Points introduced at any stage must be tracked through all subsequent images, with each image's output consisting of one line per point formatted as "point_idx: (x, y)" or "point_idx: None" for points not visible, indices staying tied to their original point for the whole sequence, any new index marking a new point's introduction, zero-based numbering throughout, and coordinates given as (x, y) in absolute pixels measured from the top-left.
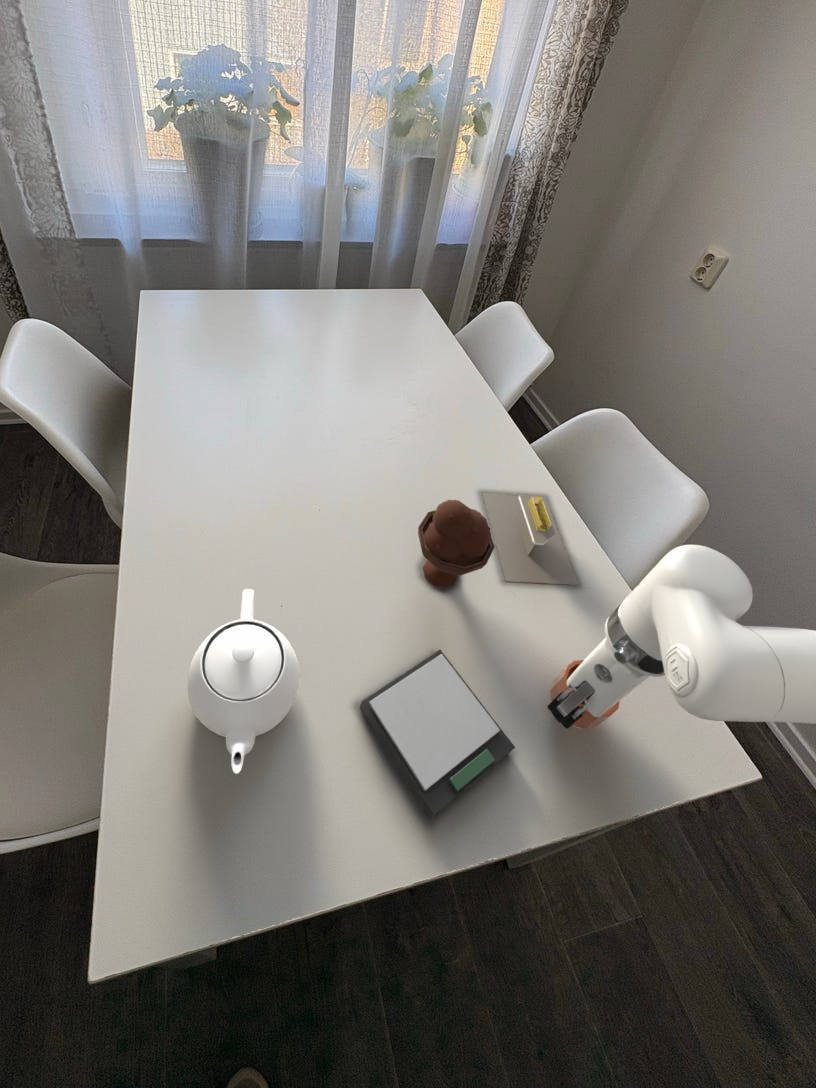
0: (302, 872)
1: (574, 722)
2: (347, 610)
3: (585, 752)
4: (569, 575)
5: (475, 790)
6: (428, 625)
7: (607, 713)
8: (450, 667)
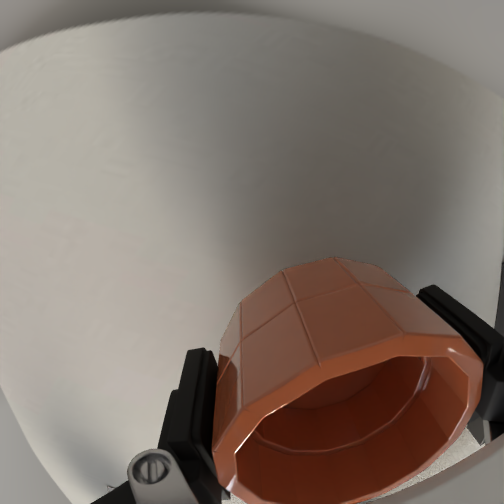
0: None
1: (472, 312)
2: None
3: (353, 192)
4: None
5: None
6: (435, 463)
7: (415, 346)
8: None
